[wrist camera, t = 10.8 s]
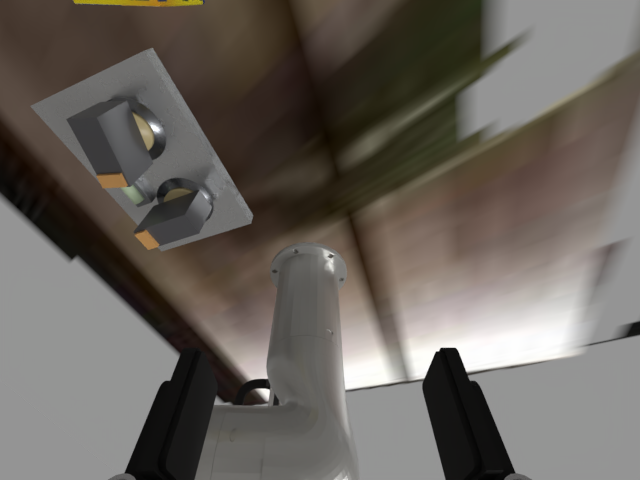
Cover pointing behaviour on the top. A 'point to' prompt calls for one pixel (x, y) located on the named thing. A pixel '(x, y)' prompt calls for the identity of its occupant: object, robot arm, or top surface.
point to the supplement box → (141, 2)
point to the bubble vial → (138, 194)
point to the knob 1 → (114, 142)
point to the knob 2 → (174, 218)
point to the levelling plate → (169, 144)
